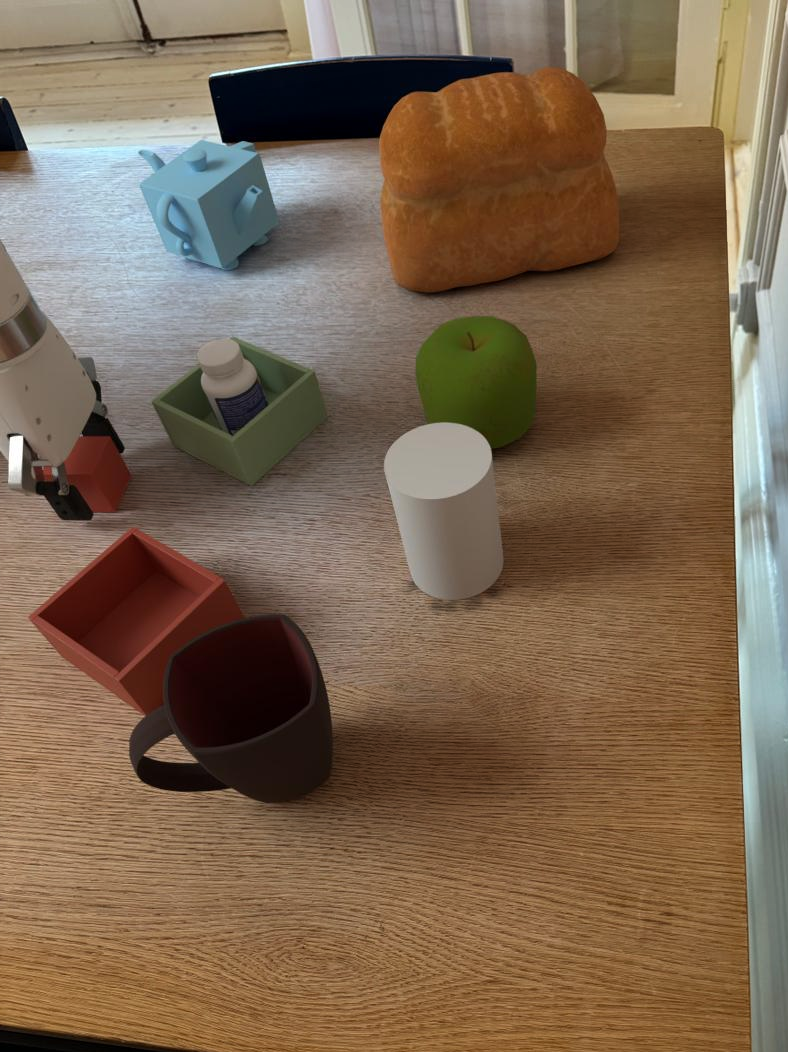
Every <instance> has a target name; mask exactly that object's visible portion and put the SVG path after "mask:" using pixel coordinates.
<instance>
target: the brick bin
mask: <svg viewBox="0 0 788 1052" xmlns="http://www.w3.org/2000/svg"><path fill="white" fill-rule="evenodd" d="M27 618H28V620H29V621H30V622H31V623H32V625H34V627H35V628H36V630H38V632H40V634H41V635H42V637H44V639H45V640H46V641H47V642H48V643H49V644H50V645H51V646H52V648H54V650H55V651H56V652H57V654H59V656H60V657H61V658H63V659H64V660H66V661H67V662H69V664H71V665H72V666H74V667H76V668H77V669H78V670H80V671H81V672H83V673H84V674H85V675H87V676H88V677H90V678H91V679H92V680H94V681H95V682H97V683H98V684H99V685H100V686H102V687H104V688H105V689H106V690H108V691H109V692H111V693H112V694H114V695H115V696H116V697H117V698H119V699H121V700H122V701H123V702H124V703H126V704H127V705H129V706H130V707H132V708H133V709H134V710H136V711H137V712H139V713H140V714H141V715H142V716H144V717H145V716H147V715H148V714H149V713H151V712H152V711H154V710H155V709H157V708H159V707H161V706H163V705H164V698H163V684H164V676H165V671H166V667H167V663H168V660H169V657H170V656H171V655H172V654H173V653H175V652H176V651H177V650H178V649H180V648H181V647H182V646H184V645H185V644H187V643H188V642H190V641H191V640H193V639H194V638H196V637H198V636H199V635H201V634H203V633H205V632H207V631H209V630H211V629H213V628H216V627H218V626H221V625H223V624H226V623H229V622H232V621H235V620H239V619H242V618H246V617H245V615H244V613H243V610H242V609H241V607H240V605H239V604H238V602H237V600H236V597H235V596H234V594H233V592H232V589H231V588H230V586H229V584H228V583H227V580H226V579H224V578H222V577H221V576H219V575H217V573H214V572H212V571H211V570H209V569H208V568H206V567H204V566H202V565H201V564H198V563H197V562H195V561H193V560H192V559H190V558H188V557H187V556H185V555H183V554H182V553H180V552H179V551H177V550H175V549H174V548H172V547H170V546H168V545H167V544H166V543H165V544H164V543H163V542H161V541H159V540H158V539H157V538H154V537H153V536H151V535H149V534H148V533H146V532H144V531H142V530H141V529H139V528H137V527H136V526H134V525H133V526H131V527H130V528H129V529H128V530H127V531H125V533H123V534H122V535H121V536H119V538H117V539H116V540H115V541H114V542H113V543H112V544H111V545H109V546H108V547H107V548H106V549H104V551H102V552H101V553H100V554H99V555H97V557H95V558H94V559H93V560H92V561H91V562H90V563H88V564H87V565H86V566H85V567H83V568H82V570H80V571H79V572H78V573H77V574H76V575H74V576H73V577H72V578H71V579H69V581H68V582H66V583H65V584H64V585H63V586H61V588H59V589H58V590H57V591H56V592H55V593H53V594H52V595H51V596H50V597H49V598H48V599H46V601H44V602H43V603H42V604H41V605H40V606H38V607H37V608H36V609H35V610H34V611H33V612H32V613H31V614H29V615H28V616H27Z"/></svg>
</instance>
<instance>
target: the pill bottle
mask: <svg viewBox="0 0 788 1052" xmlns="http://www.w3.org/2000/svg"><path fill="white" fill-rule="evenodd" d="M196 359H197V362H198V364H199V365H200V367H201V370H202V371H203V374H202V377H201V385H202V388H203V391H204V393H205V395H206V397H207V400H208V402H209V404H210V406H211V408H212V411H213V413H214V415H215V418H216V420H217V422H218V425H219V427H220V429H221V431H223V432H225V433H227V434H229V435H232V436H234V435H235V434H236V433H237V432H238V431H239V430H241V429H242V428H243V427H244V426H245V425H246V424H248V423H249V422H250V421H251V420H252V419H253V418H255V417H256V416H257V415H258V414H259V413H260V412H262V411H263V410H264V409H265V408H266V407H267V406H269V404H268V402H267V399H266V396H265V394H264V391H263V388H262V385H261V383H260V380H259V377H258V375H257V372H256V370H255V368H254V366H253V365H252V364H251V363H250V362H249V361H248V360H246V359H244V357H243V354H242V352H241V349H240V347H239V345H238V343H237V342H235V341H234V340H231V339H230V338H218V339H214V340H210V341H209V342H207V343H205V344H203V346H201V347H200V348H199V349H198V352H197V354H196Z"/></svg>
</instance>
